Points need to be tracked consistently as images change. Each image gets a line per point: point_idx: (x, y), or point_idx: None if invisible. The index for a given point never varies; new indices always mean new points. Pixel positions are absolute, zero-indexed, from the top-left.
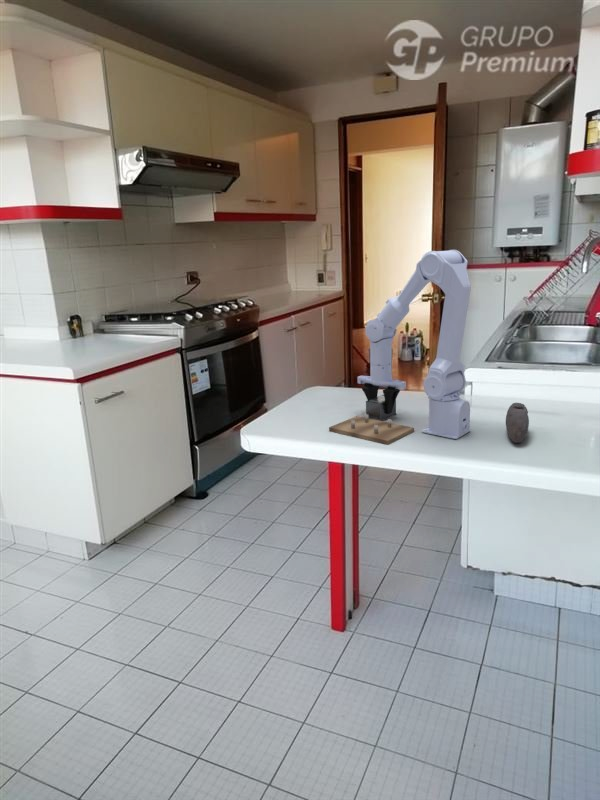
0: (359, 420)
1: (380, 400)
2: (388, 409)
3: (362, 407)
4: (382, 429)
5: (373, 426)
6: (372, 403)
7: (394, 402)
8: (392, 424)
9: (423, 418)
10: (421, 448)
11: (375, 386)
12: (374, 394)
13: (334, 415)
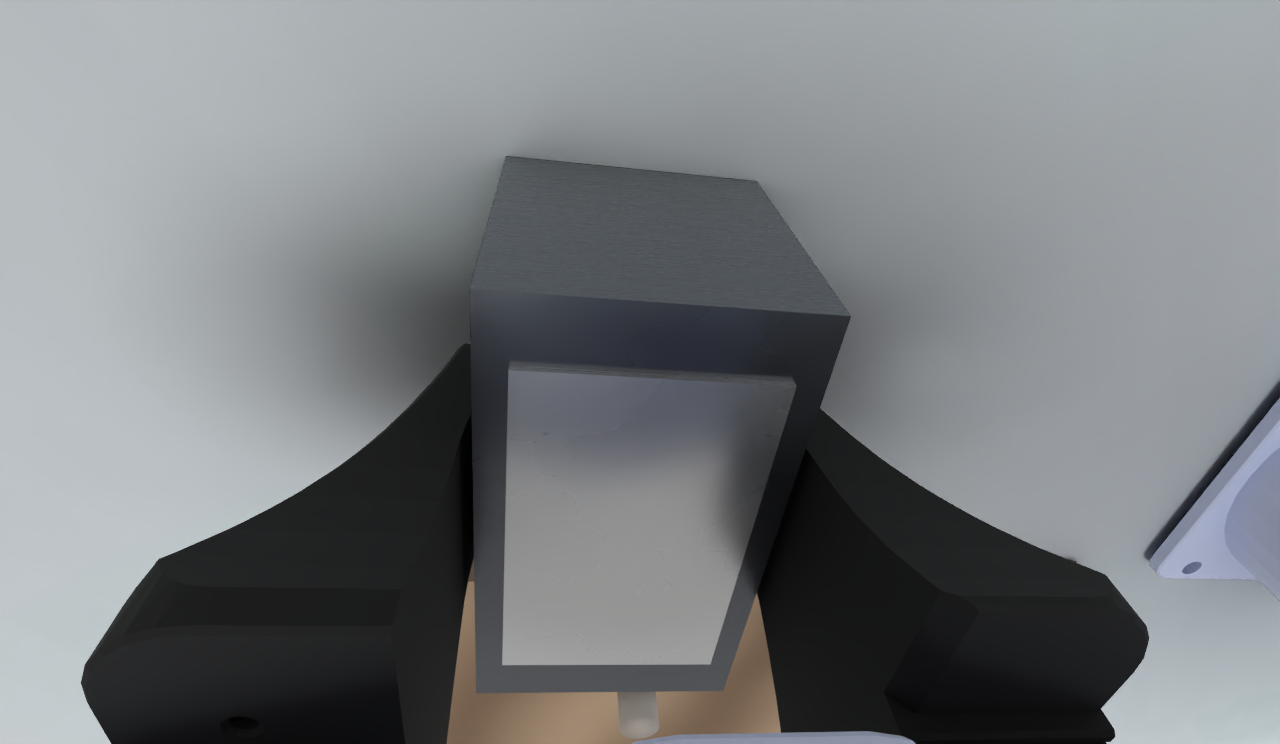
0: None
1: (666, 608)
2: None
3: (14, 65)
4: None
5: (743, 694)
6: (597, 675)
7: (854, 441)
8: None
9: (1176, 171)
10: (1132, 732)
11: (415, 711)
12: (450, 569)
13: (104, 549)
